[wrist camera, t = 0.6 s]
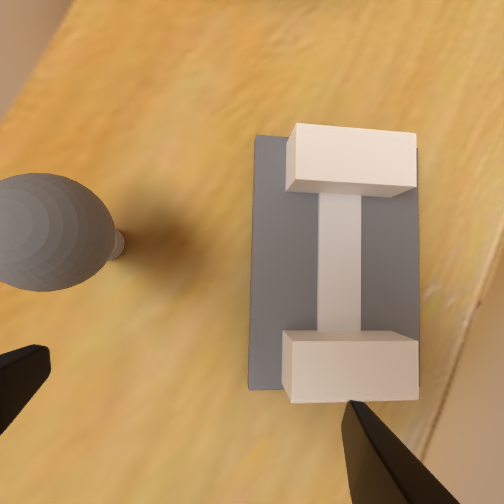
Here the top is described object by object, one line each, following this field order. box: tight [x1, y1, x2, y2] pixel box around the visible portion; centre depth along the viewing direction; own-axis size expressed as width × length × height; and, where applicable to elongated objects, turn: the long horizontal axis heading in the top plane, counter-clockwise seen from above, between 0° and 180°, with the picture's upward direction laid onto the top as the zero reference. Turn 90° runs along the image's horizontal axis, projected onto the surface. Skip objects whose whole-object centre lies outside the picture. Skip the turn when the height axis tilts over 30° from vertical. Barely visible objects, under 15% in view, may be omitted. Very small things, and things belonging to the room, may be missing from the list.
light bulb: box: [0, 173, 124, 292], centre depth 15 cm, size 6×6×10 cm
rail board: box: [248, 123, 420, 403], centre depth 20 cm, size 20×14×4 cm
